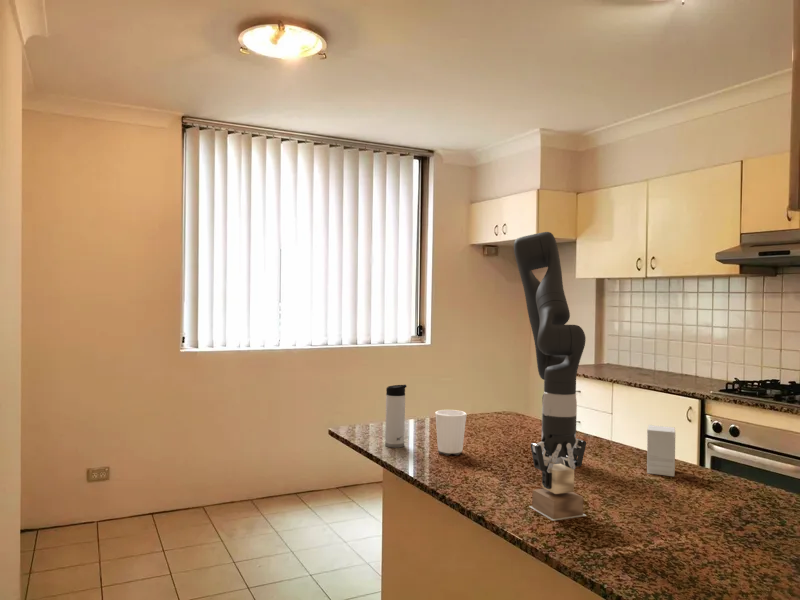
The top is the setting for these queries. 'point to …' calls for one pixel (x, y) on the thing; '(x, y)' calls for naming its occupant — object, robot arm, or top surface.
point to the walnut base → (557, 503)
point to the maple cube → (561, 479)
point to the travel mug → (395, 416)
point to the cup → (450, 431)
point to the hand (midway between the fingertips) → (557, 486)
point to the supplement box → (661, 450)
